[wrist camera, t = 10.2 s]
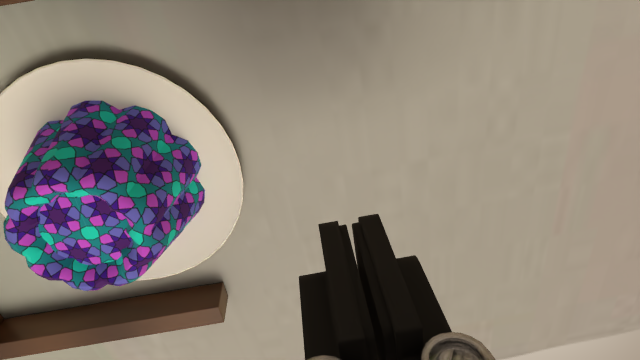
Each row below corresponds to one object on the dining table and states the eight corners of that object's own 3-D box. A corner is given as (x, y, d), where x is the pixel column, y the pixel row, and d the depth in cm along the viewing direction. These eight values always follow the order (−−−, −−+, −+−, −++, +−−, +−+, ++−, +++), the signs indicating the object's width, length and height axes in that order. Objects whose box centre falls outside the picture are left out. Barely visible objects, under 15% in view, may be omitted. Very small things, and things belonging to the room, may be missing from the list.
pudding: (205, 31, 18) (180, 58, 14) (267, 250, 24) (264, 321, 19) (-67, 82, 18) (-184, 125, 14) (60, 288, 24) (7, 367, 19)
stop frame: (-6, 336, 25) (-27, 364, 24) (-247, 12, 17) (-310, 19, 15) (228, 296, 25) (224, 322, 24) (110, -49, 17) (90, -49, 15)
